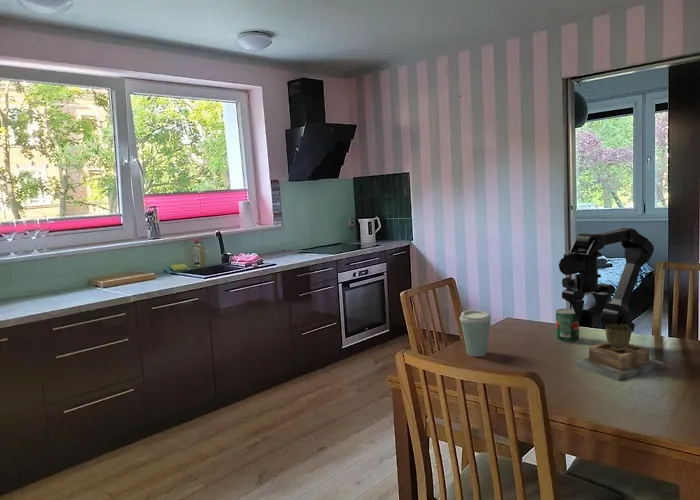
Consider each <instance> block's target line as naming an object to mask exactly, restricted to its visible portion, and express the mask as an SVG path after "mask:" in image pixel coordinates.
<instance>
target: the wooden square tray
mask: <svg viewBox="0 0 700 500" xmlns="http://www.w3.org/2000/svg"><path fill="white" fill-rule="evenodd" d="M574 366H575V367H578V368H581V369H585V370H587V371H590V372H593V373H596V374H598V375H601V376H605V378H610V379H613V380H615V381H618V382H619V381H622V380H625V379H629V378H632V377H636V376H639V375H643V374H646V373H649V372H652V371H657V370H660V369H663V368H665V363H664V361H660V360H656V359H653V358H650V349H649V348H647V347H642V346H639V345H635V344H631V343H629V344H628V345H627V346H626V347H625V350H624V351H623V352H615V351H613V350H612V346H611V345H610V344H609V343H608V341H606V342H603V343H599V344H593V345H590V346H588V357H585V358H581V359H577V360H574Z"/></svg>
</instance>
